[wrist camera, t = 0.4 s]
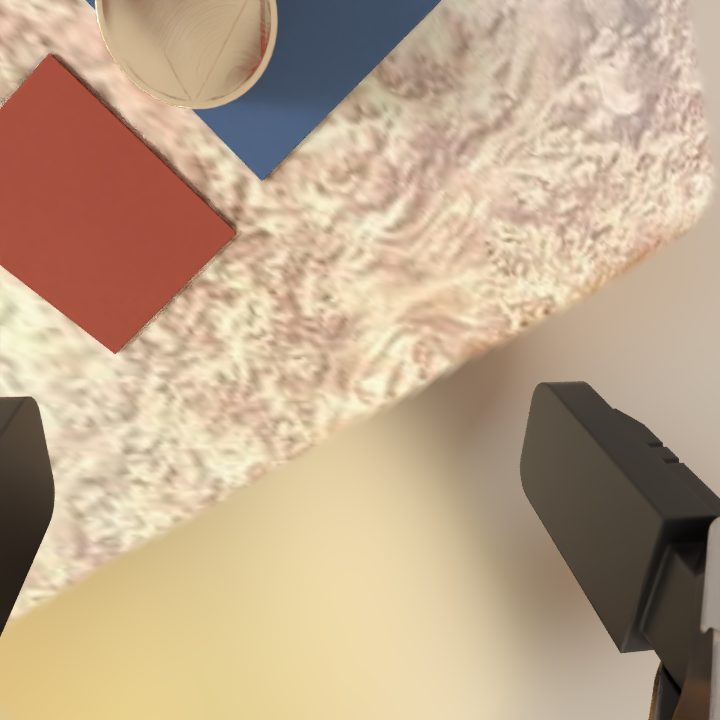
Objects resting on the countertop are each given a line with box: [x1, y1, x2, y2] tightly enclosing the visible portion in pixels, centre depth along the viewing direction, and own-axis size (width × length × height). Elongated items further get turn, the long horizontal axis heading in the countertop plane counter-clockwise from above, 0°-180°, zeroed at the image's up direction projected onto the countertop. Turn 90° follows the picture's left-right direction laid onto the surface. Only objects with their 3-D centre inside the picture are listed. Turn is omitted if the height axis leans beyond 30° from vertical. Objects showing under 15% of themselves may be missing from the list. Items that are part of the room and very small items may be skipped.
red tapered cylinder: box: [95, 0, 278, 109], centre depth 27 cm, size 7×7×8 cm
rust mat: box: [0, 54, 236, 354], centre depth 33 cm, size 12×10×1 cm
